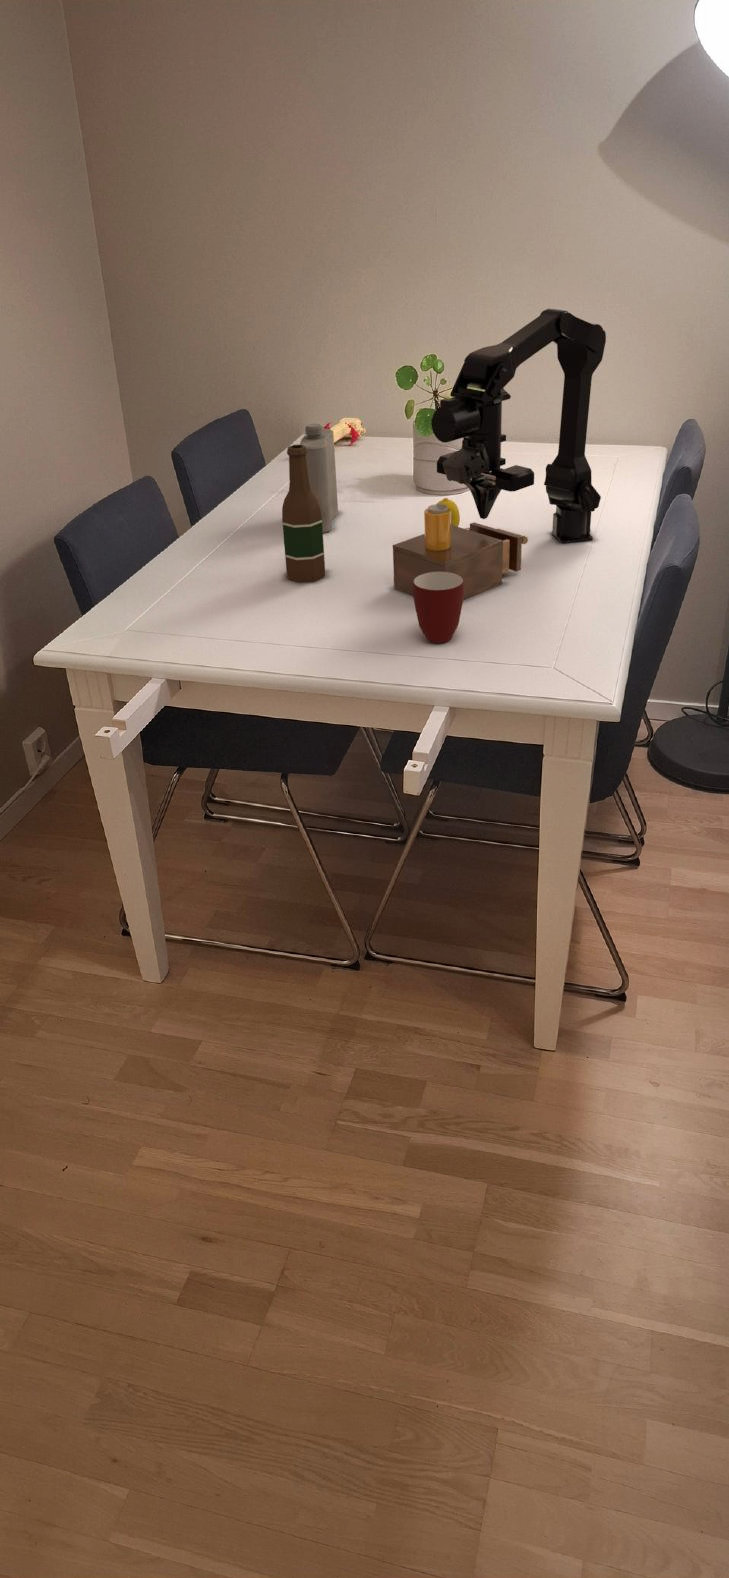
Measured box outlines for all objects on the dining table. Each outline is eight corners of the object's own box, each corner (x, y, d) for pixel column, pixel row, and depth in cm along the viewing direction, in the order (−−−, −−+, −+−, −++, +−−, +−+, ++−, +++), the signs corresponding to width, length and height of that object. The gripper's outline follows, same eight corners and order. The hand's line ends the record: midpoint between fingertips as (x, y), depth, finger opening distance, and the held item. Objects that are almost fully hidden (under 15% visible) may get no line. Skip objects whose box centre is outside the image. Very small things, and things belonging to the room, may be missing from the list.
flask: (313, 510, 238) (306, 416, 228) (339, 510, 237) (334, 416, 227) (302, 534, 226) (294, 435, 215) (330, 533, 225) (323, 434, 214)
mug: (418, 622, 185) (417, 565, 180) (466, 623, 184) (466, 566, 179) (411, 648, 176) (410, 590, 171) (461, 649, 175) (461, 590, 170)
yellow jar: (447, 540, 194) (447, 502, 191) (453, 549, 191) (453, 510, 187) (422, 543, 194) (421, 504, 190) (427, 552, 190) (427, 512, 186)
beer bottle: (332, 570, 207) (325, 441, 195) (318, 585, 201) (309, 453, 189) (295, 566, 210) (284, 439, 197) (279, 581, 204) (267, 451, 191)
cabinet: (450, 566, 206) (450, 524, 202) (502, 584, 198) (503, 540, 193) (393, 588, 198) (392, 545, 194) (445, 607, 190) (445, 562, 185)
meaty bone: (333, 466, 271) (373, 432, 289) (330, 430, 266) (371, 398, 284) (298, 462, 275) (340, 429, 293) (294, 428, 270) (337, 396, 287)
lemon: (457, 542, 217) (457, 502, 213) (430, 541, 218) (429, 502, 214) (461, 533, 222) (461, 494, 218) (434, 532, 223) (433, 493, 219)
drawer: (489, 548, 211) (490, 516, 207) (537, 563, 203) (538, 530, 200) (422, 574, 201) (422, 540, 198) (470, 590, 193) (470, 556, 190)
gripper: (413, 431, 191) (415, 518, 199) (493, 449, 179) (491, 541, 187) (458, 418, 197) (458, 503, 205) (537, 435, 185) (534, 525, 193)
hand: (483, 518), depth 198 cm, fingers closed
